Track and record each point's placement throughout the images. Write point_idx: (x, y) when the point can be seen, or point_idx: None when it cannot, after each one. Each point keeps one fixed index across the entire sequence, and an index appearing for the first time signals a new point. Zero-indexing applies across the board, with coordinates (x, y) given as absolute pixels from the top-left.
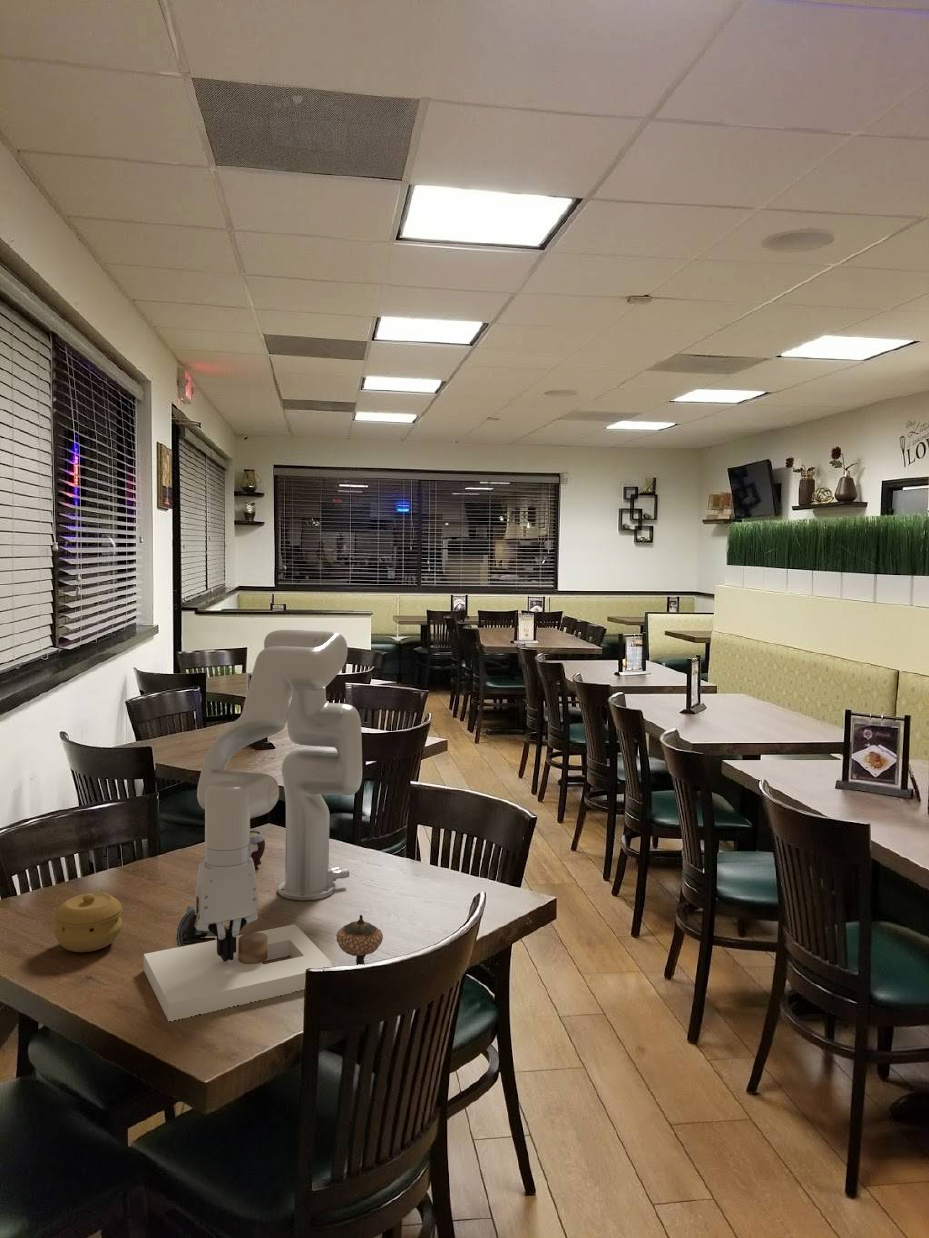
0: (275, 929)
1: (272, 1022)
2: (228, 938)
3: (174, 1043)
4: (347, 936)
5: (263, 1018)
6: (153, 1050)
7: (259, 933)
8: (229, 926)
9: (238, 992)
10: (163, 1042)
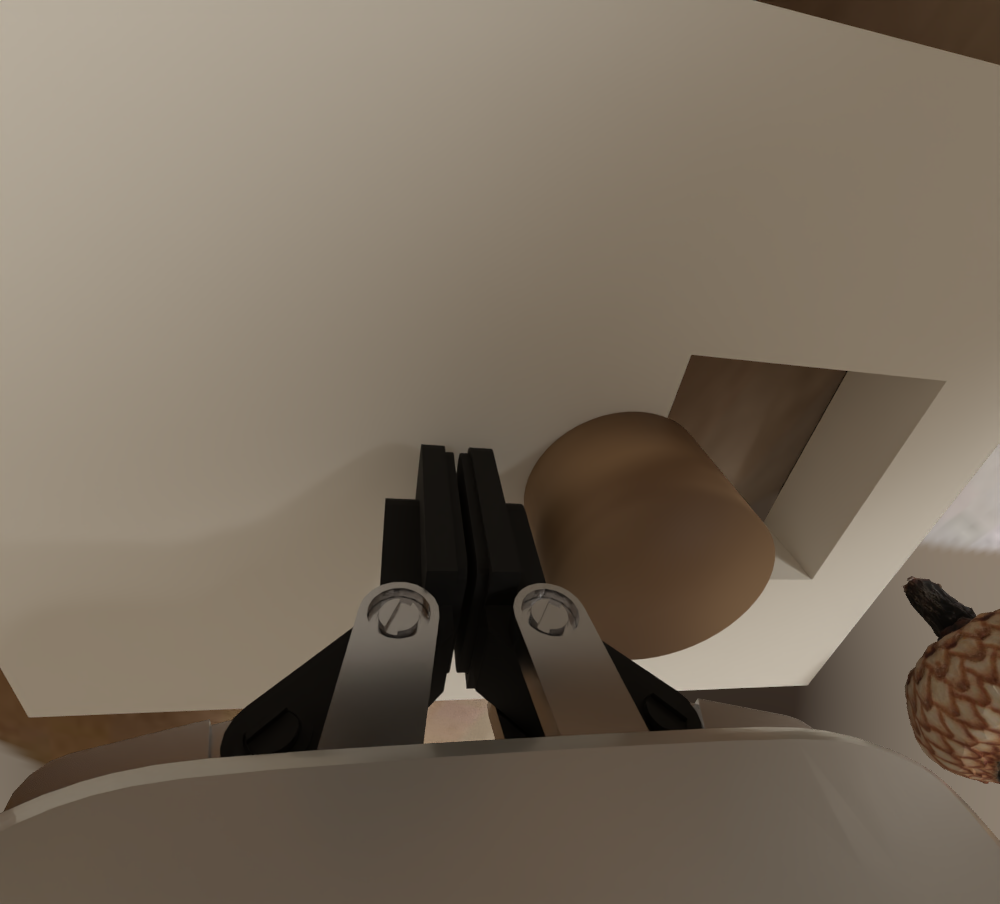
0: None
1: (454, 731)
2: (459, 655)
3: (105, 737)
4: (974, 759)
5: (441, 710)
6: (22, 747)
7: (756, 540)
8: (520, 662)
9: None
10: (60, 724)
